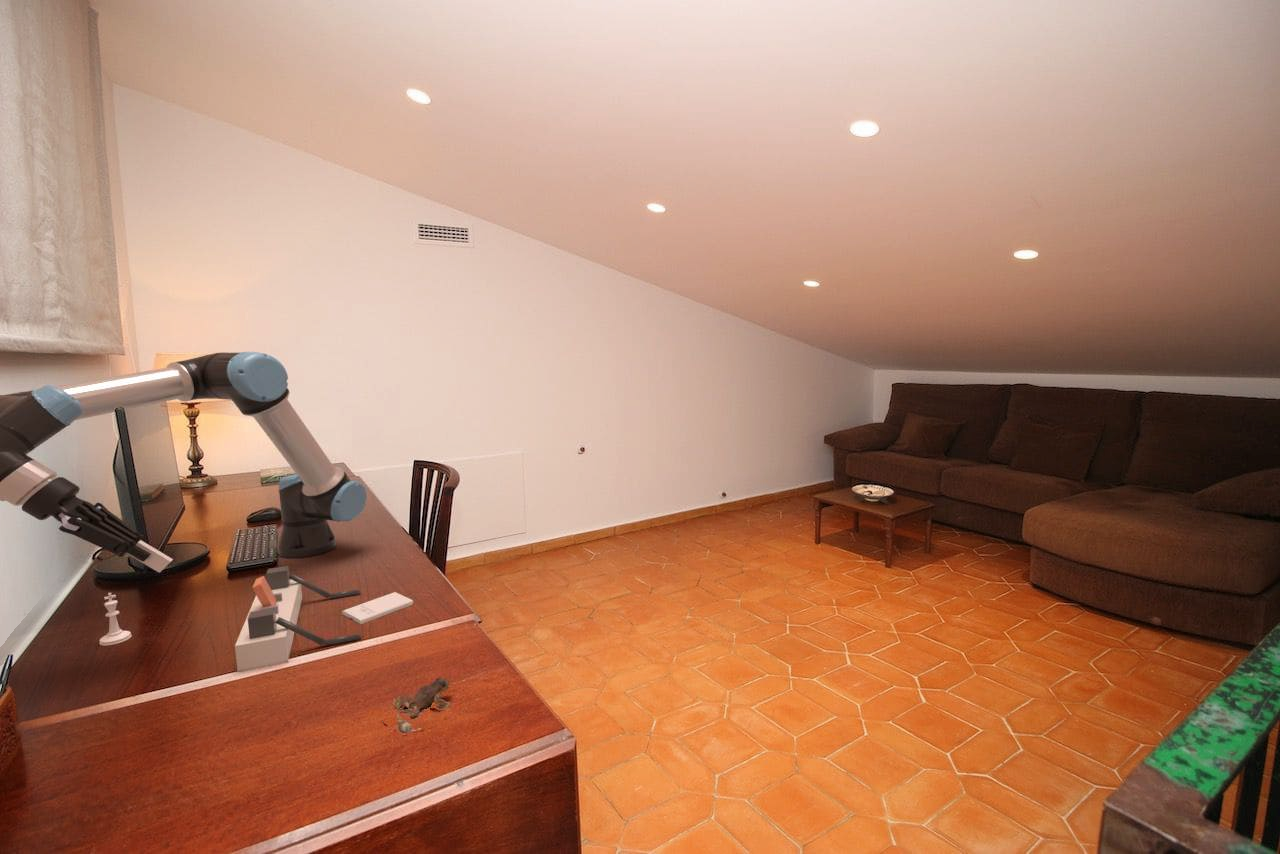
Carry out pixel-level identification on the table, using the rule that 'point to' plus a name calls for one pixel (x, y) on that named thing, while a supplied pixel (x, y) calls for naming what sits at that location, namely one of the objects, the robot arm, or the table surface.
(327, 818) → the table surface
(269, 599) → the block
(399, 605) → the external hard drive
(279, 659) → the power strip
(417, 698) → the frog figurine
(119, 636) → the chess piece
